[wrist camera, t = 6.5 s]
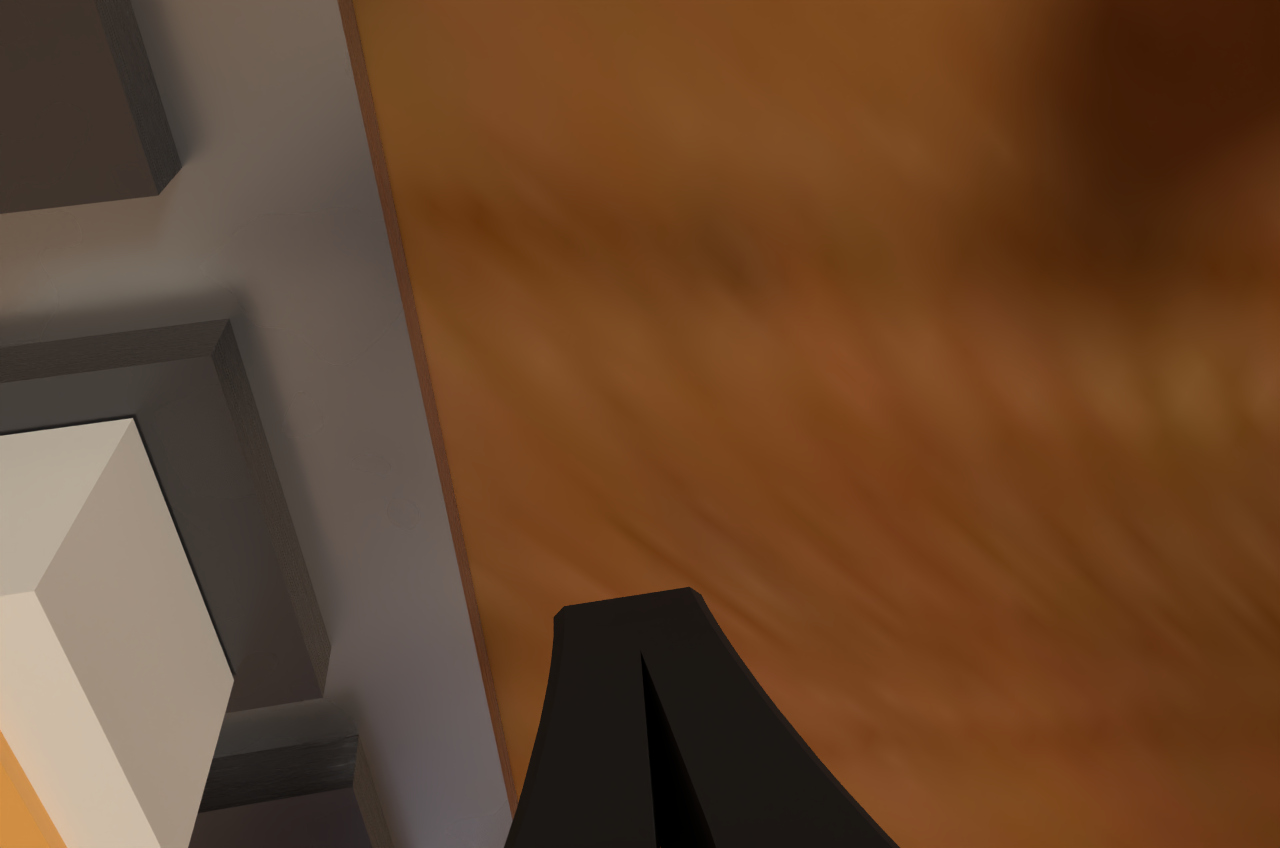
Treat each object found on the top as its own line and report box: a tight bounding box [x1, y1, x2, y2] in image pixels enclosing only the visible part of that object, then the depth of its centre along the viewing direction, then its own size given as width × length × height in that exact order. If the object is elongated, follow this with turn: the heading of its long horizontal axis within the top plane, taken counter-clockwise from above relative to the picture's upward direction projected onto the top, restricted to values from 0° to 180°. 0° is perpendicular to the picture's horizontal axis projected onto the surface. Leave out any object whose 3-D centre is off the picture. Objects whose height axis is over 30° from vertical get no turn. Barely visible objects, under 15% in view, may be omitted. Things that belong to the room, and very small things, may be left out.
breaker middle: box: [0, 418, 234, 848], centre depth 11 cm, size 4×2×3 cm, turn 4°
